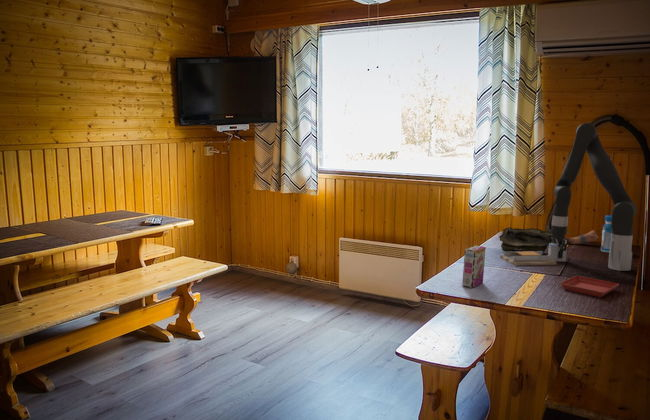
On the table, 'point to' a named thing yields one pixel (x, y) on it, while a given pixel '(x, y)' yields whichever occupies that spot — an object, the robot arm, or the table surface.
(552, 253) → the medicine box
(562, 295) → the table surface
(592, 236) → the drinking horn
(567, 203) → the robot arm
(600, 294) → the plant saucer
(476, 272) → the candy bar box
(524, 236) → the hollow geode rock
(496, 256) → the table surface
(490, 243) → the table surface
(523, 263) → the rail board
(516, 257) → the rail
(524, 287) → the table surface
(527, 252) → the orange rectangular slab
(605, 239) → the beverage bottle
